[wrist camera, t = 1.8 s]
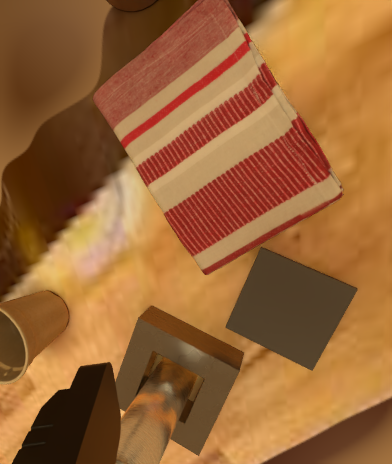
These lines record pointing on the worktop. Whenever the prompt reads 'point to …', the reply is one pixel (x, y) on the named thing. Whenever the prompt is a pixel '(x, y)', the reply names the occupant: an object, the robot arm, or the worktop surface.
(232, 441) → the worktop surface
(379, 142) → the worktop surface
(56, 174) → the worktop surface
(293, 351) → the rubber mat
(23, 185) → the worktop surface
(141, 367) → the bore block
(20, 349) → the flower pot
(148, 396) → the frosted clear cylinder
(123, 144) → the dish towel
